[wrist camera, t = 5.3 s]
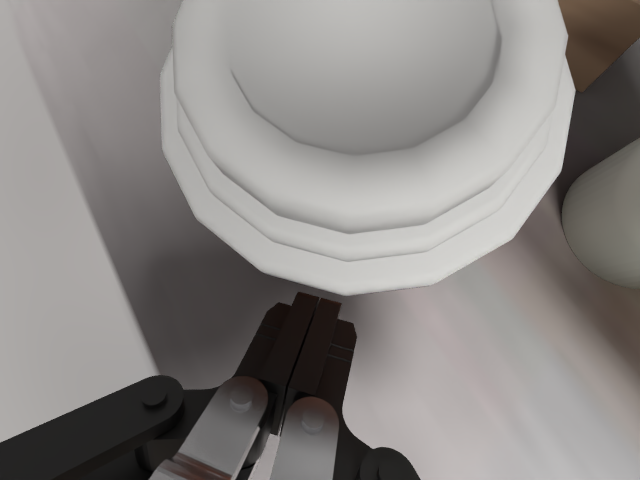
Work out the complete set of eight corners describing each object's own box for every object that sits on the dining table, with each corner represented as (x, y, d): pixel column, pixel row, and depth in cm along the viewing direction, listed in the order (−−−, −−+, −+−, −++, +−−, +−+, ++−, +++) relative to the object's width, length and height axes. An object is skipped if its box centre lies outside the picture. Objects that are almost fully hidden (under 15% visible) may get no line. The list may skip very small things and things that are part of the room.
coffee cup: (479, 273, 17) (752, 175, 6) (287, 336, 17) (172, 367, 6) (407, 102, 19) (503, -229, 8) (235, 159, 19) (69, -90, 8)
